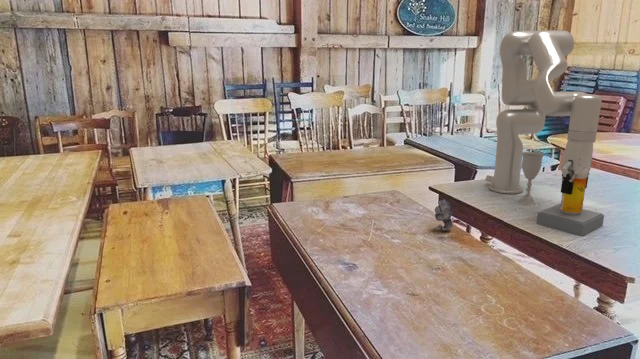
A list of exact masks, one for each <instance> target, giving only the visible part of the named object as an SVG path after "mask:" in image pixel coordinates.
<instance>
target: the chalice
mask: <svg viewBox="0 0 640 359" xmlns="http://www.w3.org/2000/svg"><path fill="white" fill-rule="evenodd" d="M544 156H545V153H541V152H535V151H523V153H522V163H521V170H522V172H523V175H524V178H525V179H526V180H527V184H526V186H527V188H526V189H525V190H526V194H525V195H523V196H522V198H521V200H520V201H519V203H520V204H522V205H527V206H532V205H535V204H536V203H535V200H534V197H533V196H531V194H530V193H531V191H532V189H531V187H532V180H535V179H536V177H537V176H538V174H539V173H540V171H541V169H542V162H543V158H544Z"/></svg>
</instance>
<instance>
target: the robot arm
mask: <svg viewBox="0 0 640 359" xmlns="http://www.w3.org/2000/svg"><path fill="white" fill-rule="evenodd" d="M499 46H500V47H499V57H500V62H501V68H502V69H501V70H502V72H501V73H502V75H501V76H502V77H501V101H502V103H503V104H504V105H506V106H517V107H518V106H519V107H520V106H527V108H523V109H522V108H517V109H516V108H515V109H514V108H513V109H505V110H502V111H500V112H499V113H498V114H497V117H496V119H495V120H496V121H495V126H496V133H497V134H496V151H495V152H496V153H495V160H494V161H495V164H494V172H493V176H492V175H489V174H487V175H486V176H485V182H490V184H489V185H488V189H489V190H490V191H492V192H495V193H500V194H509V195H510V194H511V195H515V194H520V193H522V192H523V191H524V188H523V187H522V186H521V185H520V180H521V171H522V160H523V155H522V153H523V152H524V145H523V142H522V140H521V138H520V135H535V134H538V133H540V132H542V131H543V129H544V127H545V123H546V116H547V117H569V125H568V131H567V139H566V140H567V141H566V145H565V148H564V152H563V156H562V162H561V167H560V168H561V169H560V171H561V185H560V186H561V187H560V193H561V194H562V193H565V194H569V195H571V194H572V191H573V184H574V182H572V181H573V179H574V177H575V175H578V174H580V173H581V171H582V170H583V168H585V167H587V169H588V174H587V181H586V187H585V190H586V189H587V188H588V182H589V176H590V170H591V165H592V162H593V153H594V143H596V141H597V132H598V127H599V121H600V113H601V108H602V97H601V96H600V95H597V94H591V93H586V92H583V91H554V90H553V89H552V87H551V84H550V82H551V81H552V80H555V79H557V78H558V77H560V76H562V74H564V73H565V71H566V70H567V69H568V66H569V65H568V61H567V59H566V56H569V55H570V54H571V53H572V52H573V50H574V47H575V39H574V36H573V34H572V33H571V32H569V31H567V30H564V29H563V30H557V29H555V30H554V29H553V30H549V29H548V30H515V31H510V32H508V33H506V34H505V35H504V36H503V38H502V40H501V42H500V45H499ZM522 56H531V57H532V59H533V61H534V64H535V67H537V70H538V73H539V75H538V76H537V78H536V79H528V78H527V77H528V75H527V74H528V67H527V64H526V62H525V61H524V59H523V57H522ZM572 171H573V172H572ZM569 174H570V175H571V177H570V175H569Z"/></svg>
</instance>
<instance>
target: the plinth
mask: <svg viewBox="0 0 640 359" xmlns="http://www.w3.org/2000/svg"><path fill="white" fill-rule="evenodd" d="M560 206H561V203H558V204H556V205H553V206H551V207H549V208H545V209H543V210H541V211H538V212H537V219H536V224H537V225H541V226H545V227H547V228H548V227H549V228H551V229H554V230H555V229H556V230H559V231H562V232H566V233H569V234H574V235H576V236H581V237H584V236H585V235H587V234H590V233H591V232H593V231H595V230H598V229H599V228H601V227H602V226H603V224H604V219H605V214H603V213H601V212H597V211H594V210H588V209H584V208H582V212H581V213H580V214H578V215H571V214H566V213H563V212H562V210H561V209H560Z"/></svg>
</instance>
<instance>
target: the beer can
mask: <svg viewBox="0 0 640 359" xmlns="http://www.w3.org/2000/svg"><path fill="white" fill-rule="evenodd" d="M572 172H573V171H572ZM587 174H588V169H587V167H585V168H583V170H582V171H581V173H580V174H578V175H575V177H574V179H573V181H572V182H574V184H573V191H572V194H571V195H569V194H565V193H561V200H560V204H561V206H560V209H561V210H562V212H563V213H566V214H571V215H578V214H580V213H581V212H582V209H584V208H583V206H584V200H585V194H586V193H585V192H586V189H585V187H586V181H587ZM569 175H570V174H569ZM570 177H571V175H570Z"/></svg>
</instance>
